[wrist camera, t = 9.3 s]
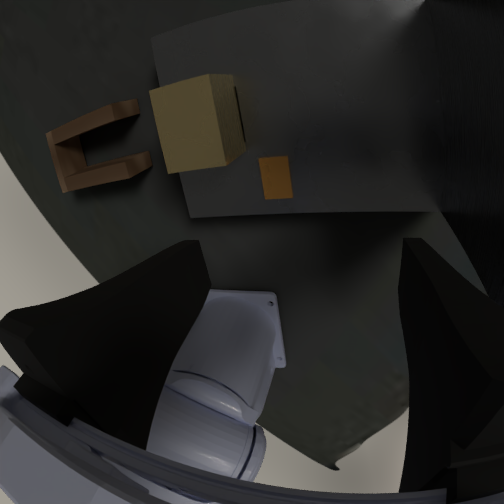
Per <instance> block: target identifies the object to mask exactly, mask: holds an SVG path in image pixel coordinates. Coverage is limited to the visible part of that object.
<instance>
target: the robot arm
mask: <svg viewBox="0 0 504 504" xmlns="http://www.w3.org/2000/svg"><path fill="white" fill-rule="evenodd" d="M210 288H211V281H210V278H209V275H208V271H207V268H206V264H205V261H204V257H203V254H202V250H201V247H200V243H199V240H184V241H182V242H179V243H177V244H175V245H172V246H171V247H169V248H167V249H165V250H163V251H161V252H159V253H157V254H156V255H154V256H152V257H150V258H149V259H147V260H145V261H143V262H141V263H140V264H138V265H136V266H134V267H132V268H130V269H129V270H127V271H125V272H123V273H121V274H119V275H117V276H116V277H114V278H112V279H109V280H107V281H105V282H103V283H101V284H99V285H97V286H94V287H92V288H90V289H87V290H84V291H82V292H79V293H76V294H74V295H71V296H68V297H65V298H62V299H59V300H55V301H52V302H48V303H44V304H40V305H36V306H30V307H25V308H20V309H15V310H12V311H10V312H9V313H7V314H6V315H5V316H4V318H3V319H2V320H1V321H0V343H1V344H2V346H3V347H4V348H5V350H6V351H7V352H8V354H9V355H10V357H11V358H12V359H13V360H14V362H15V363H16V364H17V365H18V367H19V368H20V369H21V371H22V372H23V375H22V376H21V377H20V378H19V377H18V376H17V375H16V374H15V373H14V372H13V371H11V370H10V369H8V368H7V367H6V366H2V367H1V368H0V488H1V489H2V490H3V491H4V492H5V494H6V495H7V496H8V497H9V498H10V499H11V500H12V501H13V502H14V503H15V504H504V308H503V307H501V306H500V305H498V304H497V303H496V302H494V301H493V300H492V299H490V298H489V297H488V296H486V295H485V294H484V293H482V292H481V291H480V290H478V289H477V288H476V287H475V286H473V285H472V284H471V283H470V282H469V281H468V280H466V279H465V278H464V277H463V276H462V275H461V274H460V273H458V272H457V271H456V270H455V269H454V268H453V267H452V266H451V265H450V264H449V263H448V262H446V261H445V260H444V259H443V258H442V257H441V256H440V255H439V254H438V253H437V252H436V251H435V250H434V249H433V248H432V247H431V246H430V245H428V244H427V243H426V242H425V241H424V240H423V239H422V238H403V248H402V259H401V268H400V277H399V285H398V295H399V309H400V318H401V324H402V329H403V335H404V341H405V348H406V354H407V361H408V368H409V420H408V434H407V444H406V452H405V460H404V466H403V472H402V478H401V483H400V488H399V493H383V494H382V493H381V494H355V493H352V494H351V493H331V492H318V491H308V490H299V489H290V488H284V487H277V486H271V485H265V484H260V483H254V482H253V481H254V479H255V477H256V475H257V473H258V471H259V469H260V467H261V464H262V462H263V459H264V455H265V451H266V438H265V436H264V431H263V428H262V427H261V426H258V425H256V424H255V422H256V420H257V419H258V418H259V416H260V414H261V412H262V410H263V407H264V404H265V400H266V397H267V394H268V391H269V387H270V384H271V381H272V377H273V374H274V370H275V367H277V368H284V367H285V366H286V357H285V350H284V343H283V336H282V330H281V323H280V316H279V309H278V303H277V296H276V294H275V293H273V292H266V291H238V290H215V289H210ZM269 301H271V302H273V303H270V302H269Z"/></svg>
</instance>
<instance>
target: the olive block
mask: <svg viewBox="0 0 504 504" xmlns="http://www.w3.org/2000/svg"><path fill="white" fill-rule="evenodd" d="M149 93H150V98H151V103H152V107H153V112H154V116H155V121H156V125H157V130H158V134H159V138H160V143H161V147H162V151H163V155H164V159H165V163H166V167H167V171H168V174H170V173H177V172H183V171H190V170H197V169H205V168H213V167H221V166H227V165H228V164H229V163H231V162H232V161H233V160H235V159H236V158H237V157H239V156H240V155H241V154H243V153H244V152H245V151H246V146H245V141H244V135H243V130H242V117H241V112H240V106H239V101H238V98H237V97H236V91H235V86H234V81H233V75H227V74H206V75H202V76H198V77H194V78H190V79H187V80H183V81H180V82H176V83H173V84H169V85H166V86H163V87H160V88H156V89H153V90H150V91H149Z"/></svg>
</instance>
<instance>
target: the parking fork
mask: <svg viewBox="0 0 504 504" xmlns="http://www.w3.org/2000/svg"><path fill="white" fill-rule="evenodd" d="M137 114H140V111H139V106H138V101H137V99H132V100H127V101H122V102H117V103H112V104H109V105H107V106H104V107H102V108H100V109H97V110H95V111H92V112H90V113H88V114H86V115H83V116H81V117H79V118H77V119H75V120H73V121H70V122H68V123H66V124H64V125H62V126H60V127H58V128H56V129H54V130H52V131H50V132H48V133H46V137H47V141H48V145H49V148H50V152H51V156H52V159H53V163H54V166H55V170H56V173H57V176H58V180H59V183H60V186H61V189H62V192H63V193H64V192H68V191H73V190H77V189H81V188H85V187H90V186H94V185H99V184H104V183H108V182H113V181H118V180H123V179H128V178H131V177H133V176H134V175H136V174H138V173H140V172H142V171H144V170H145V169H147V168H149V167H151V166H153V165H152V161H151V157H150V153H149V151H146V152H141V153H137V154H133V155H129V156H125V157H121V158H117V159H113V160H109V161H105V162H102V163H98V164H95V165H91V166H88V167H87V164H86V161H85V157H84V154H83V150H82V146H81V142H80V138H79V135H81V134H84V133H86V132H89V131H91V130H94V129H96V128H99V127H102V126H104V125H107V124H110V123H113V122H116V121H119V120H122V119H124V118H127V117H131V116H134V115H137Z"/></svg>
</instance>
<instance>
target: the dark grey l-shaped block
mask: <svg viewBox="0 0 504 504" xmlns="http://www.w3.org/2000/svg"><path fill="white" fill-rule="evenodd" d="M151 43H152V49H153V54H154V60H155V65H156V70H157V75H158V80H159V85H160V87H163V86H166V85H169V84H173V83H176V82H180V81H183V80H187V79H190V78H194V77H198V76H202V75H206V74H227V75H233V81H234V86H235V88H236V90H237V95H238V101H239V106H240V112H241V117H242V123H243V128H244V134H245V135H244V141H245V146H246V151H245V152H244V153H243V154H241V155H240V156H239V157H237V158H236V159H235V160H233V161H232V162H231V163H229V164H228V165H227V166H221V167H213V168H205V169H197V170H190V171H183V172H179V175H180V179H181V183H182V187H183V191H184V195H185V199H186V203H187V207H188V211H189V214H190V218H201V217H219V216H238V215H260V214H285V213H318V212H378V211H420V212H441V213H442V214H443V216H444V218H445V219H446V221H447V222H448V224H449V225H450V227H451V229H452V230H453V232H454V233H455V235H456V237H457V238H458V240H459V242H460V244H461V245H462V247H463V249H464V250H465V252H466V254H467V256H468V258H469V259H470V261H471V263H472V265H473V267H474V269H475V270H476V272H477V274H478V276H479V278H480V280H481V282H482V284H483V286H484V288H485V290H486V292H487V294H488V296H489V298H490V299H492V300H493V301H494V302H496V303H497V304H498V305H500V306H501V307H503V308H504V0H293V1H286V2H280V3H273V4H268V5H262V6H257V7H252V8H247V9H243V10H238V11H234V12H230V13H226V14H222V15H218V16H215V17H211V18H207V19H204V20H201V21H197V22H194V23H191V24H188V25H185V26H182V27H179V28H176V29H173V30H170V31H168V32H165V33H162V34H160V35H157V36H155V37H152V38H151Z"/></svg>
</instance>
